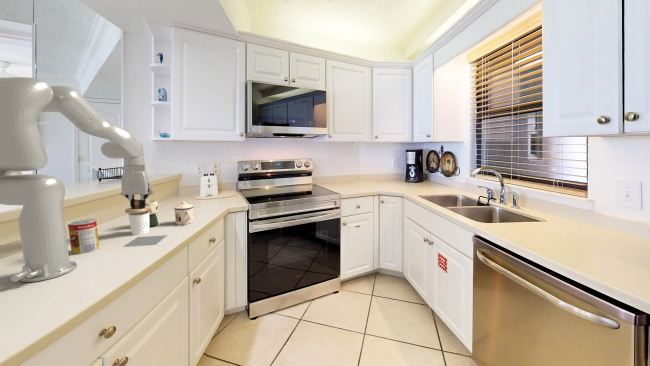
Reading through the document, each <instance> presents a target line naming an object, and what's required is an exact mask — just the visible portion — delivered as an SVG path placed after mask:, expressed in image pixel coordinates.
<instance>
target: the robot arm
mask: <svg viewBox="0 0 650 366" xmlns="http://www.w3.org/2000/svg"><path fill="white" fill-rule="evenodd" d="M41 112H42V113H59V114H61V115H63V117H65V118H66V119H67V120H69V122H71V124H73V125H74V126H75V127H76V128H77V129H78V130H80V131H81V132H82V133H84V134H87V135H90V136H92V137H93V136H94V137H97V138H101V139H104V140H108V141H106V142H104V143H102V145H101V147H100V152H101V153H102V155H104V156H105V157H106V158H109V159H113V160H115V159H117V160H118V159H119V160H120V159H123V166H121V169H120V170H122V171H124V172H122V176H121V192H120V196H123V197H125V198H126V199H127V200H128V201H129V204H130V205H129V206H130V208H131V209H135V208H134V200H136V199H135V198H136V196H135V195H139V197H140V199H139V200H140V209H143V208H145V206H146V201H147V199H148V198H149V196H151V195H154V191H153V190H152V189H151V182H150V178H149V174H148V172H147V171H146V167H145V152H144V144H143V143H142V142H140V141H139V140H137V138H136V137H134V135H133V134H132V133H131V132H130V131H129V130H127V129H125V128H124V127H121V126H119V125H118V124H116V123H114V122H112V121H110V120H108V119H106V118H104V117H103V116H102V114H100V113H99V112H98V111H97V110H96V109H95V108H94V107H93V106H92V104H90V102H88V100H86V99H85V98H84V96H82V94H80V93H79V91H77V90H76V89H75V88H72V87H70V86H66V85H50V84H49V83H48V82H46V81H45V80H43V79H40V78H36V77H30V76H29V77H27V76H19V77H18V76H17V77H16V76H13V77H0V205H4V206H22V208H21V211H20V213H19V214H18V215H19V216H18V221H17V222H18V229H19V235H20V236H19V237H20V243H21V250H22V255H23V262H24V265H23V266H21V267H22V268H21V269H22V270H21V271H20V272H18V273H16V274H14V275H12V276H10V280H11V282H13V283H15V282H16V283H17V282H22V283H33V282H34V283H35V282H40V281H41V282H42V281H45V280H49V279H53V278H58V277H60V276H63V275H66V274H68V273H71V272H72V271H74V270H75V269H76V268H77V266H78V265H77V261H73V260H70V255H69V246H68V238H67V237H68V236H67V232H66V231H67V230H66V223H65V217H64V216H65V214H64V201H65V195H66V186H65V185H64V183H63V182H62V180H60V179H59V178H57V177H55V176H53V175H49V174H42V173H41V174H37V173H35V174H33V173H32V174H30V173H28V174H27V173H26V174H23V172H29V171H30V172H32V171H37V170H42V169H43V168H45V167H46V165H48V161H49V160H48V159H49V158H48V153H47V150H46V147H45V145H44V142H43V141H44V140H43V138H42V135H41V133H40V129H39V125H38V124H39V123H38V119H39V117H40V116H39V115H40V114H41Z"/></svg>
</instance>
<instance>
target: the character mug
mask: <svg viewBox="0 0 650 366" xmlns="http://www.w3.org/2000/svg"><path fill="white" fill-rule="evenodd" d="M145 201H146V206H150V207H152V210H151V211H148V212H149V220H150V221H149V223H150V227H153V226H158V225H159V221H158V217H157V216H158V215H157V213H159V204H158V200H145Z"/></svg>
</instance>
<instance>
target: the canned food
mask: <svg viewBox="0 0 650 366" xmlns="http://www.w3.org/2000/svg"><path fill="white" fill-rule="evenodd" d="M67 227H68V234H69V235H68V236H69V242H70V251H71V255H81V254H89V253H92V252H96V251H97V250H99V249H100V242H99V235H98V234H99V232H98V223H97V219H95V218H86V219H77V220H73V221H69V222H68V223H67Z"/></svg>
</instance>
